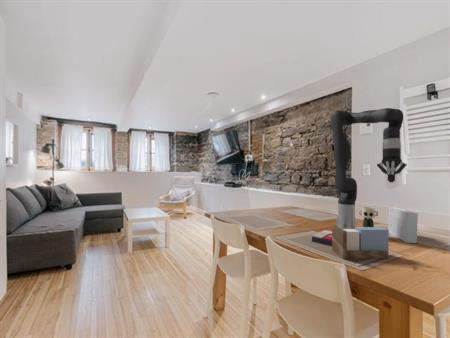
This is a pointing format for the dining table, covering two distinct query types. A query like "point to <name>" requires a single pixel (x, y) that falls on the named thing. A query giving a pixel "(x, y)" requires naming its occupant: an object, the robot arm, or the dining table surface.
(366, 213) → the character mug
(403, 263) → the dining table surface
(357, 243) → the shelved book
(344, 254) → the book rack
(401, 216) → the skincare box
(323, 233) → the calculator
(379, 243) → the loose book
